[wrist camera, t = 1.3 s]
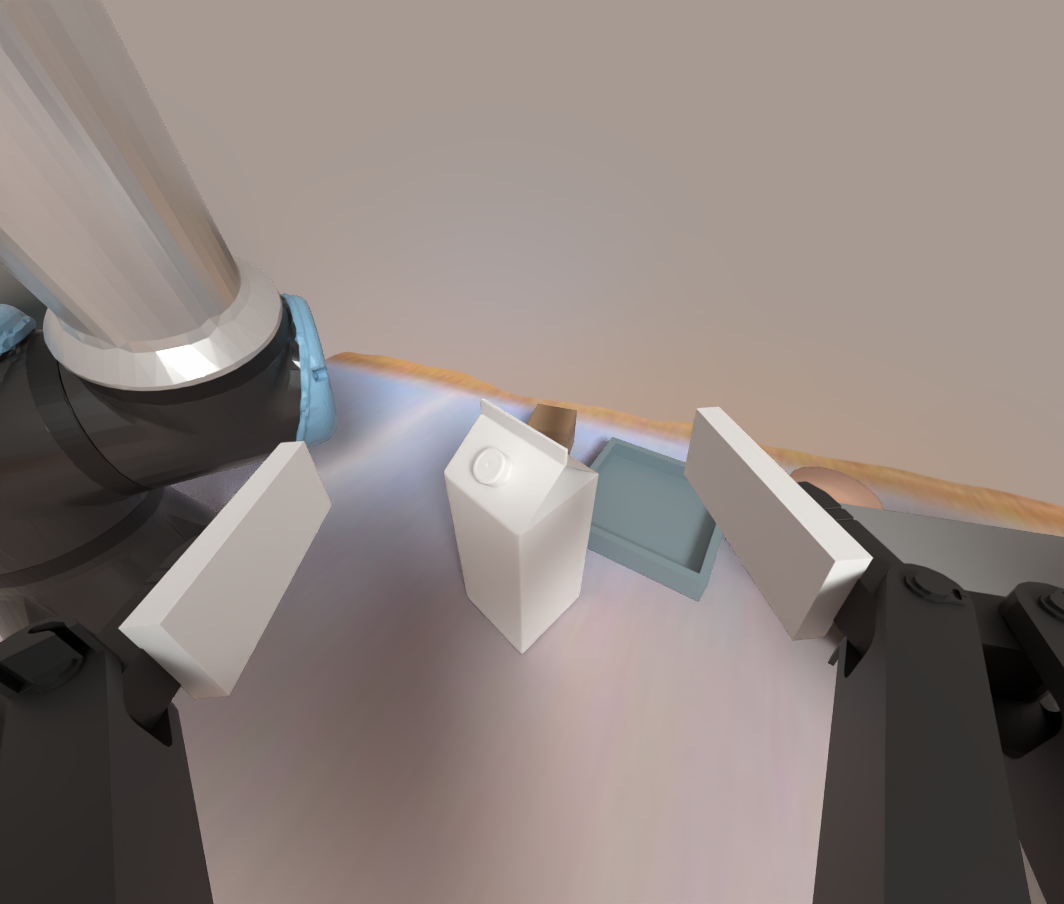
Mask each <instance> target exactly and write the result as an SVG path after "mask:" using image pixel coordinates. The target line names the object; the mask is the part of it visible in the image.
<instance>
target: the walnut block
mask: <svg viewBox="0 0 1064 904" xmlns="http://www.w3.org/2000/svg"><path fill="white" fill-rule="evenodd" d="M576 414H577V410H571V409H565V408H559V407H553V406H547V405H542V404H537V406H536V408H535V410H534V412H533V414H532V416H531V418H530V420H529V422H528V424H527V425H528V426H530V427H532V428H533V429H535V430H537V431H538V432H540V433H542V434H543V435H545V436H547V437H548V438H550V439H552V440H553V441H555V442H557V443H558V444H560V445H562V446H563V447H565V448H567V449H568V455H569V454H570V451H571V448H572V446H573V443H574V435H575V425H576Z"/></svg>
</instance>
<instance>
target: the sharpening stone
mask: <svg viewBox="0 0 1064 904" xmlns="http://www.w3.org/2000/svg"><path fill="white" fill-rule="evenodd" d="M839 504H840V505H841V508H842V509H845V510H846V511H848V512H849V513H850V514H851V515H852V516H853V517H854V520H857V521H858V522H860V523H861V524H862V525H863V526H864V527H865V528H866V529H867V530H868V531H869V532H870V533H872V534H873V535H874V536H875V537H876V538H877V539H878V540H879V541H880V542H881V543H882V544H884V545H885V546H886V547H887V548H888V549H889V550H890V551H891V552H892V553H893V554H894V555H896V556H897V557H898V558H899V559H900V560H901V561H902V562H903V563H912V564H916V565H920V566H924V567H928V568H930V569H932V570H935V571H937V572H939V573H942V574H944V575H945V576H947V577H948V578H950V579H951V580H953V581H955V582H956V583H958V584H959V585H960V586H961V587H962V588H963V589H964V590H968V591H974V592H980V593H986V594H993V595H999V596H1005V597H1006V596H1007V595H1008V594H1009V593H1010V592H1011V591H1012V590H1013V589H1014V588H1015V587H1016V586H1017V585H1018V584H1020V583H1024V582H1028V581H1031V582H1040V583H1047V584H1050V585H1053V586H1057V587H1060V588H1064V537H1060V536H1053V535H1047V534H1040V533H1033V532H1027V531H1020V530H1014V529H1007V528H1000V527H994V526H987V525H981V524H974V523H967V522H961V521H954V520H948V519H941V518H934V517H928V516H921V515H915V514H908V513H901V512H895V511H888V510H882V509H875V508H868V507H862V506H855V505H849V504H842V503H839ZM1048 697H1049V699H1050V700H1051V702H1052V704H1053V705H1054V706H1055V708H1056V709H1057V710H1058V711H1060V709H1059V707H1058V704H1057V702H1056V701H1055V699H1054V698H1053V696H1052V694H1051V693H1050V694H1048Z"/></svg>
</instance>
